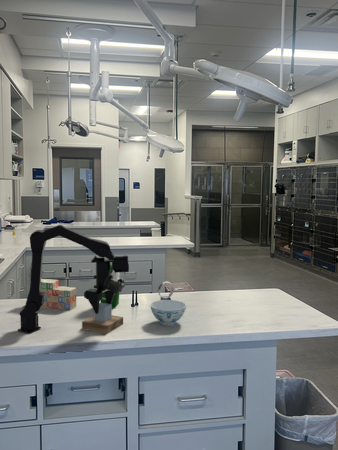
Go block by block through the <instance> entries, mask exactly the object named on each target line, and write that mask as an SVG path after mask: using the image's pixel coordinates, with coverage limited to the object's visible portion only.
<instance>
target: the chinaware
mask: <svg viewBox="0 0 338 450" xmlns="http://www.w3.org/2000/svg"><path fill="white" fill-rule="evenodd" d="M149 306H150V310H151V313H152V314H153V316H154V318H155V319H156V320H157V321H159V323H160V324H161V325H164V326H174V325H175V324H176V323H177V321H179V320H181V318H182V317H183V316H184V314H185V311H186V309H187V304H186V303H185V302H183V301H180V300H173V299H171V300H161V299H160V300H155V301H153V302H151V303H150V305H149ZM173 324H174V325H173Z"/></svg>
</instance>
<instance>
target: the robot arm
mask: <svg viewBox="0 0 338 450" xmlns="http://www.w3.org/2000/svg"><path fill="white" fill-rule="evenodd" d="M56 237H62V238H64V239H66V240H68V241H70V242H73V243H76V244H77V245H81V246H82V247H85V248H87V249H88V250H89V251H90V252H92V253H93V254H95V255H94V256H93V258H92V259H91V260H90V261H91V263H93V264H94V263H95V275H93V279H95V284H94V285H93V288H89V289H87V290H85V291H84V292H83V297H84V299H85V300H88V302H89V304H90V306H91V308H92V309H93V311H94V312H95V313H96V314H98V312H99V303H101V301H100V300H101V299H102V298H101V297H102V293H103V292H104V293H105V297H106V302H107V304H112V301H113V298H114V295H115V294H117V293H119V294H120V293H121V292H122V290H123V288H125V287H126V286H125V280H124V279H123V278H119V280H118V281H117V280H114V279H113V276H112V275H110V265H112V270H114V271H115V273H117V272H119V273H129V270H130V269H129V268H130V265H129V256H128V255H126V254H125V255H115V254H114V253H113V252H112V251H111V245H110V243H109V242H107V241H104V240H101V239H96V238H91V237H89V236H86V235H84V234H82V233H79V232H77V231H75V230H72V229H71V228H69V227H66V226H64V224H63V225H62V224H58V225H56V226H53V227H50V228H46V229H44V230H43V229H37V230H35V231H33V232H32V233H31V234H30V235H29V244H30V245H29V246H30V249H31V268H30V269H31V270H30V281H29V291H28V294H27V298H26V301H25V305H24V306H23V307H22V308H21V310H20V312H19V316H20V317H19V318H20V328H18V329H17V331H18V332H20V333H21V332H22V333H27V334H32V333H34V332H36V331H39V330H40V329H41V328H42V327H41V326H39V313H38V312H39V311H40V309H42V307H41V306H43V303H44V301H45V300H44V294H45V292H42V291H41V279H42V273H43V272H42V270H43V257H44V256H43V255H44V252H45V251H44V250H45V247H46V244H47V241H49V240H52V239H54V238H56ZM105 258H106V259H105Z"/></svg>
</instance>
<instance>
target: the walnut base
mask: <svg viewBox="0 0 338 450" xmlns="http://www.w3.org/2000/svg"><path fill="white" fill-rule="evenodd" d="M81 324H82V325H81V329H82V330H85V331H92V332H96V333H97V332H98V333H102V334H109V333H112V331H115V330H116V329H117V328H120V327H121V326H123V325H124V317H123V316H119V315H112V318H111V319H110V320H108V321H106V322H101V321H96V320H94V315H92V316H90V317H89V318H86V319H84V320H82V321H81Z"/></svg>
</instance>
